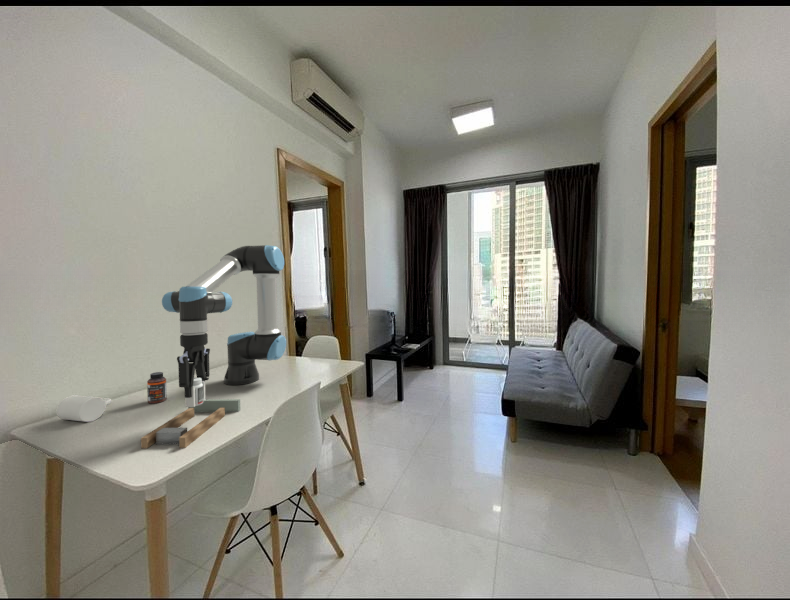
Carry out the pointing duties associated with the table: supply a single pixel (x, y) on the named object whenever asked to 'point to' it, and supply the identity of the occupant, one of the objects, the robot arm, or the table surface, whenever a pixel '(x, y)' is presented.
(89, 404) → the mug
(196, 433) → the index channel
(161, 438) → the tall gray brick
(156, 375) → the supplement bottle
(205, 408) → the door edge rail
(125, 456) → the table surface
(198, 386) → the pill bottle
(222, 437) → the table surface
